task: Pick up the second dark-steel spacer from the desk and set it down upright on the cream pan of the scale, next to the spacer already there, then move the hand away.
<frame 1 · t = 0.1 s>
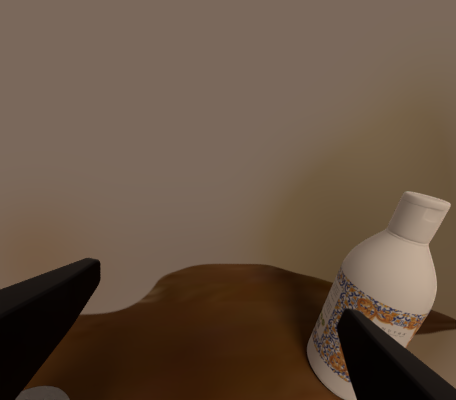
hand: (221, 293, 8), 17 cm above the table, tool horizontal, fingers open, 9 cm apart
bath foam: (337, 368, 23), on the table
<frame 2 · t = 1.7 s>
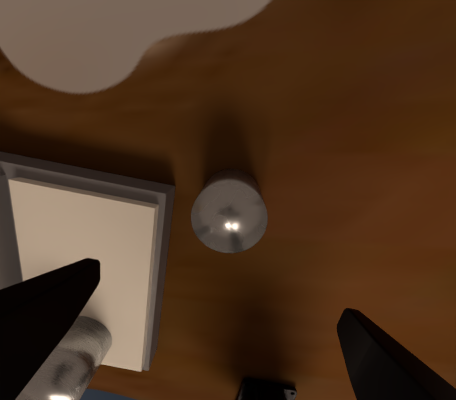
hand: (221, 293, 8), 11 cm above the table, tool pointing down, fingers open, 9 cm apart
spacer b: (231, 196, 19), on the table
spacer a: (86, 336, 20), point 3 cm above the table, touching scale
scale: (87, 264, 22), on the table
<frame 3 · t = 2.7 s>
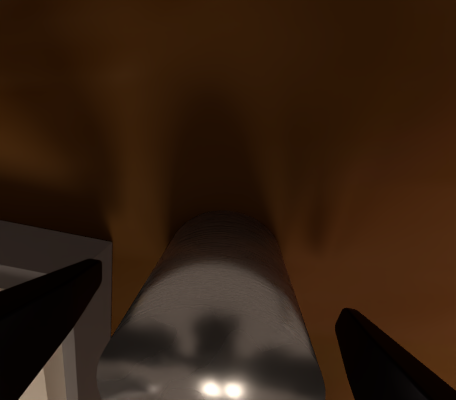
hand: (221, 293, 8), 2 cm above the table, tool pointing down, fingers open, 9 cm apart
spacer b: (224, 262, 9), on the table
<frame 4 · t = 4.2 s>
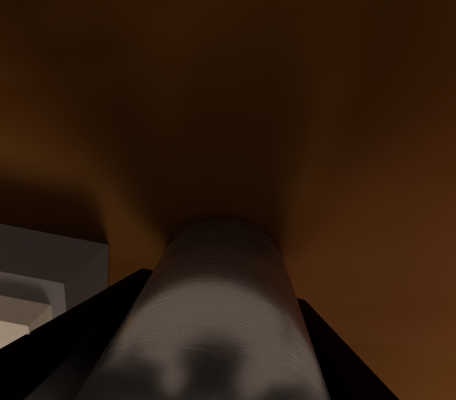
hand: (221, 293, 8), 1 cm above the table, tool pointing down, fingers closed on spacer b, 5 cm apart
spacer b: (223, 274, 9), on the table, touching gripper
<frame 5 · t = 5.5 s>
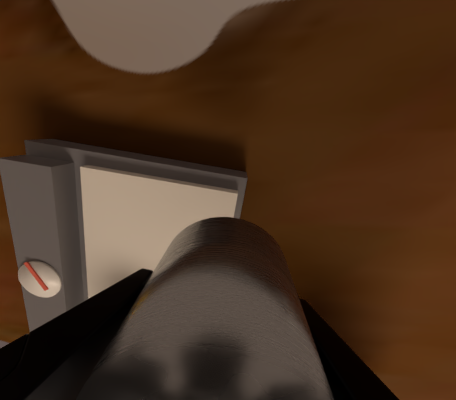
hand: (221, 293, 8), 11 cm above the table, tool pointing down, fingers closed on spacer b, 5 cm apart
spacer b: (224, 273, 9), point 10 cm above the table, touching gripper
scale: (145, 259, 20), on the table
when the fingers open (6 cm above the table, at t = 7.6 s): spacer b drops 1 cm, resting on scale.
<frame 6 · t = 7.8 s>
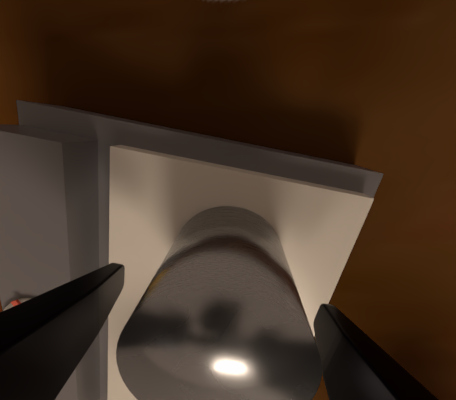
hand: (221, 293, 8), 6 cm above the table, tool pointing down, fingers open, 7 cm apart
spacer b: (228, 256, 10), point 3 cm above the table, touching scale
scale: (186, 285, 15), on the table
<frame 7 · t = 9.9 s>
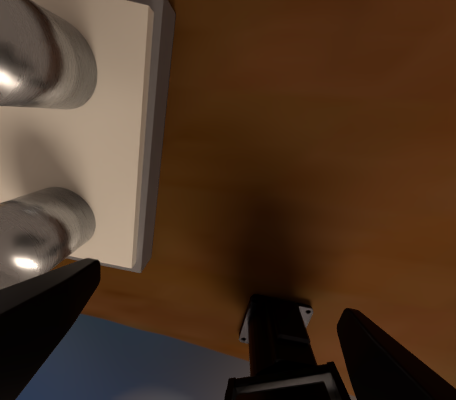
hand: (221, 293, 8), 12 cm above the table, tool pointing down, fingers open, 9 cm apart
spacer b: (56, 65, 13), point 3 cm above the table, touching scale
spacer a: (63, 217, 16), point 3 cm above the table, touching scale
scale: (66, 137, 18), on the table
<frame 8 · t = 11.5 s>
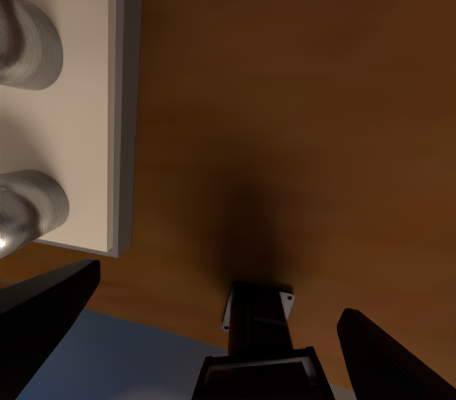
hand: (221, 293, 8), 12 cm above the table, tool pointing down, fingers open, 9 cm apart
spacer b: (22, 46, 13), point 3 cm above the table, touching scale
spacer a: (38, 200, 17), point 3 cm above the table, touching scale
scale: (42, 124, 18), on the table
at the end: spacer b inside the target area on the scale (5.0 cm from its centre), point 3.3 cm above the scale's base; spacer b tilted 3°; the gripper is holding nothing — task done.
